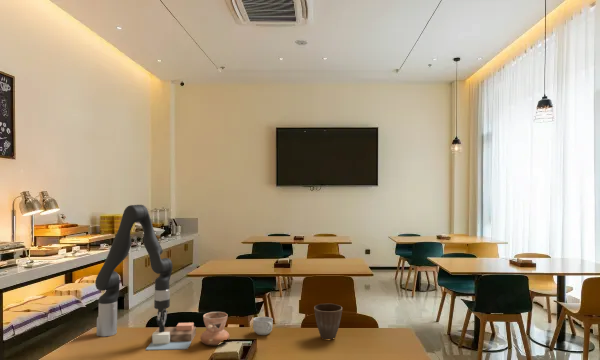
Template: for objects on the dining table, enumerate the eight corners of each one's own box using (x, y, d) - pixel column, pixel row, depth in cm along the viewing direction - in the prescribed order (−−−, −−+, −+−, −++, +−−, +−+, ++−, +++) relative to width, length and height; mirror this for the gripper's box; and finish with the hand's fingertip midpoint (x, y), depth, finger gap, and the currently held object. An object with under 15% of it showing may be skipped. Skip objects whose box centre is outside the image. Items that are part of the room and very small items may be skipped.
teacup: (250, 331, 223) (250, 317, 224) (268, 329, 228) (268, 314, 228) (258, 339, 211) (258, 324, 211) (278, 336, 215) (278, 321, 216)
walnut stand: (151, 343, 206) (151, 335, 206) (158, 334, 218) (158, 327, 218) (191, 342, 208) (191, 334, 208) (195, 334, 219) (195, 326, 220)
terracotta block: (176, 330, 213) (176, 325, 213) (178, 327, 218) (178, 322, 218) (191, 330, 214) (191, 325, 214) (193, 327, 219) (193, 322, 219)
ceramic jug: (222, 349, 197) (223, 320, 198) (194, 347, 199) (195, 318, 200) (234, 337, 215) (235, 310, 216) (208, 336, 217) (209, 309, 218)
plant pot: (347, 340, 210) (347, 309, 210) (321, 344, 204) (321, 312, 205) (334, 331, 223) (334, 302, 224) (309, 335, 218) (309, 305, 219)
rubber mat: (145, 350, 196) (145, 349, 196) (151, 343, 206) (151, 342, 206) (187, 349, 198) (187, 348, 198) (191, 342, 207) (191, 341, 207)
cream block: (154, 341, 206) (152, 344, 203) (153, 332, 205) (152, 335, 202) (170, 340, 206) (169, 343, 204) (169, 331, 205) (168, 334, 203)
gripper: (158, 295, 213) (157, 328, 212) (150, 301, 200) (150, 337, 199) (172, 294, 214) (172, 328, 213) (166, 301, 200) (165, 336, 200)
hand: (161, 332), depth 206 cm, fingers closed
